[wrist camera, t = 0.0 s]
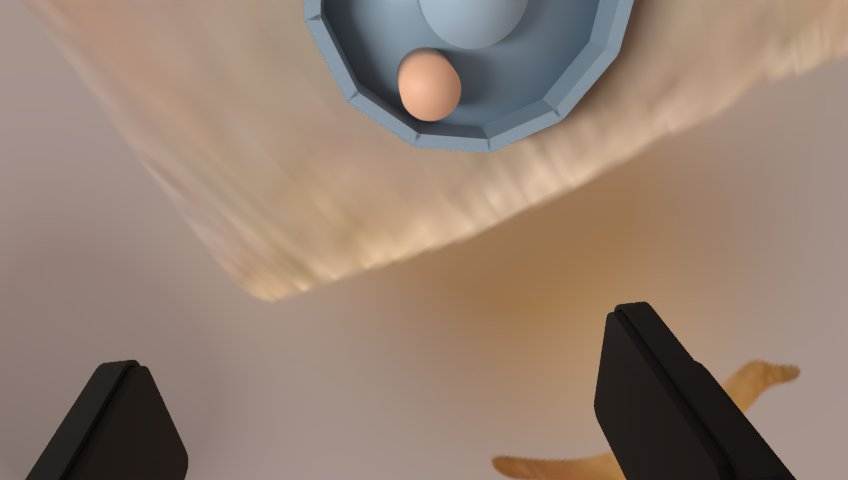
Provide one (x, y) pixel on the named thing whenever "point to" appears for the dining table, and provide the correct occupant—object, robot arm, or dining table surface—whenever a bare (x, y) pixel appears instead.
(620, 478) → the dining table surface
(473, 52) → the tray
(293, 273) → the dining table surface
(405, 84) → the bead
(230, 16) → the dining table surface
